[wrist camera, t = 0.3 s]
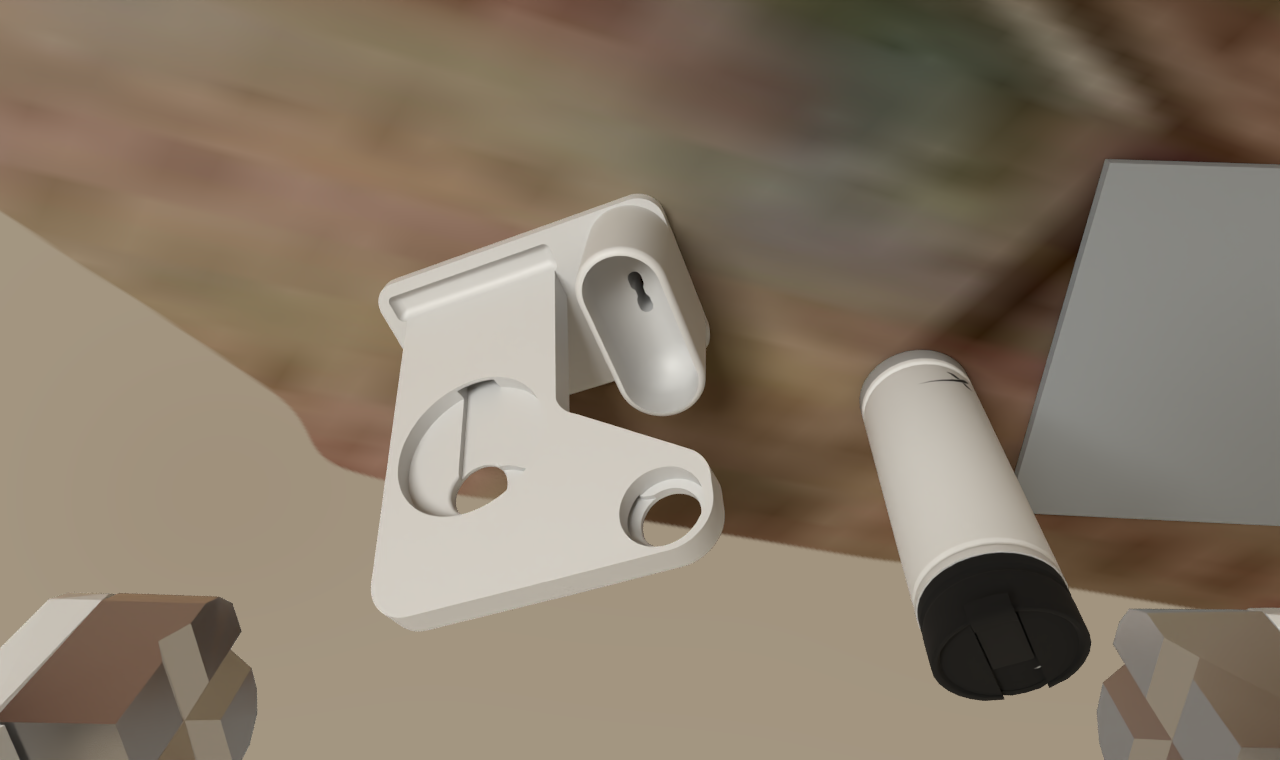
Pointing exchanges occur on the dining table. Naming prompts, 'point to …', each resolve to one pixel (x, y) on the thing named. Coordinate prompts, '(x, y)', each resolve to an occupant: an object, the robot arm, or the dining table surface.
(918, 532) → the travel mug
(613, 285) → the phone holder
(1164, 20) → the dining table surface
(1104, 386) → the grey mat
